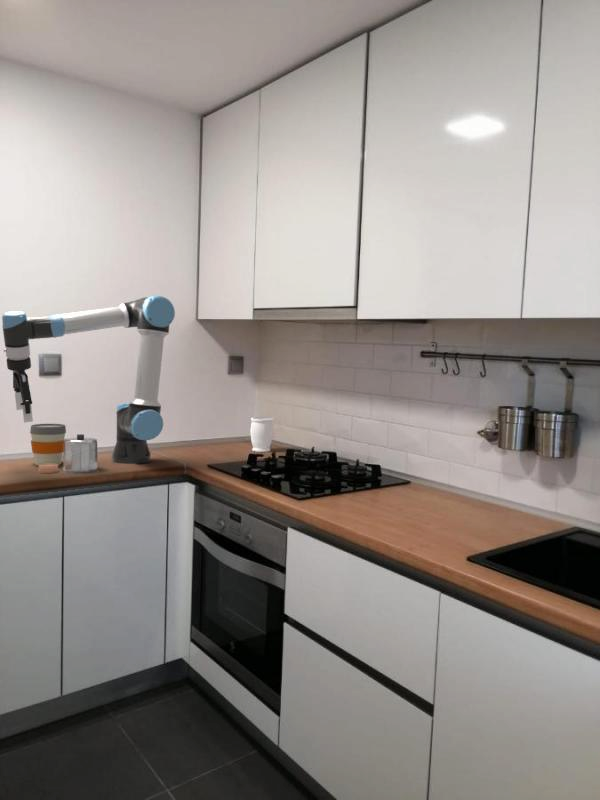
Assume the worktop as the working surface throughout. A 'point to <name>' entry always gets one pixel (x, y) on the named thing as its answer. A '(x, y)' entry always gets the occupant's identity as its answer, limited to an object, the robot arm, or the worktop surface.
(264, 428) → the jar
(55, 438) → the reusable coffee cup
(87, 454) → the faceted metal canister
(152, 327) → the robot arm
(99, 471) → the mat
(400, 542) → the worktop surface
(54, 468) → the beige low rounded block
